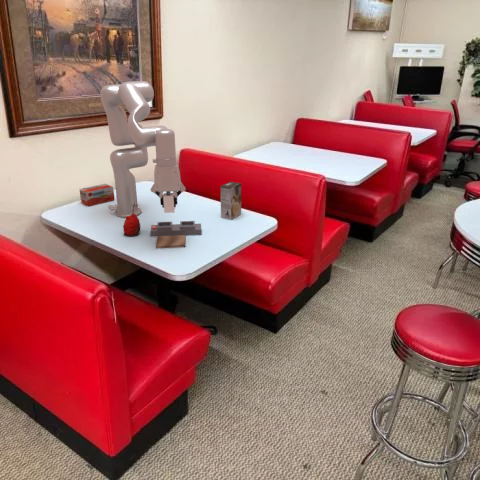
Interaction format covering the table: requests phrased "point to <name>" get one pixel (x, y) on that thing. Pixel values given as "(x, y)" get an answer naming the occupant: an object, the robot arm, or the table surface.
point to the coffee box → (230, 200)
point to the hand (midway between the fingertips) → (169, 206)
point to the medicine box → (97, 194)
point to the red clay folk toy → (131, 224)
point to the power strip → (176, 229)
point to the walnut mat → (171, 241)
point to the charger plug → (168, 202)
